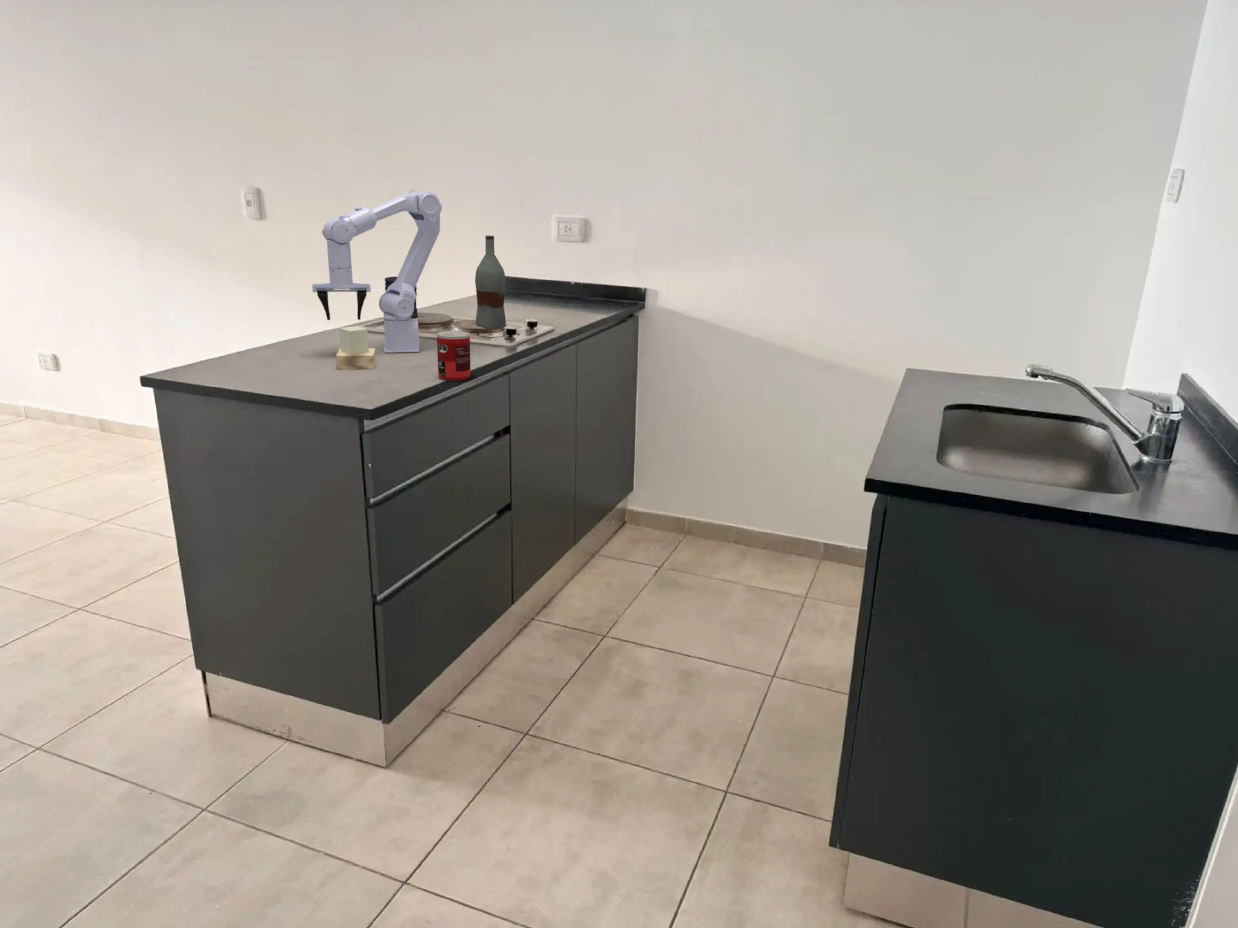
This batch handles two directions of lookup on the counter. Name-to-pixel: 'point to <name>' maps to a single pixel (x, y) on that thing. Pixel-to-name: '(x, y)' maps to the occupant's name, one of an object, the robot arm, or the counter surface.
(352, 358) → the maple slab
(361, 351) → the sage block
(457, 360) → the canned food
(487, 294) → the bottle
